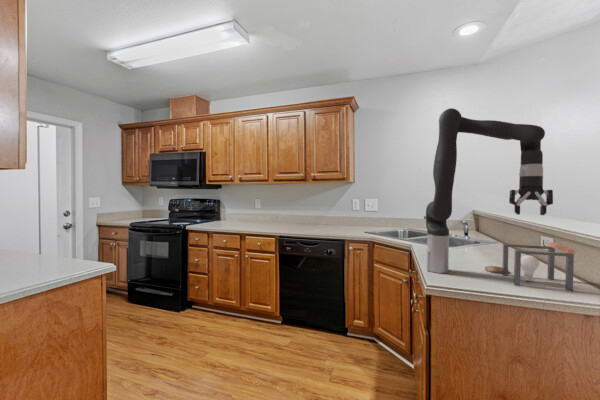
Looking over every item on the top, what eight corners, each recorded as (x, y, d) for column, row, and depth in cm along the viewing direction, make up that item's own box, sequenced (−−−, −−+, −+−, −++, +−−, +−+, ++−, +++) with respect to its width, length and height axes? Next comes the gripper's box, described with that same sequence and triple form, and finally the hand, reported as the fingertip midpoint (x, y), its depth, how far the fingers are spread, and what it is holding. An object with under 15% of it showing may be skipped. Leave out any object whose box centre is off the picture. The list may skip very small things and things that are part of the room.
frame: (515, 285, 112) (516, 250, 111) (502, 274, 127) (503, 243, 126) (572, 291, 105) (573, 254, 105) (552, 278, 120) (552, 246, 120)
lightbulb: (542, 284, 113) (542, 257, 113) (524, 283, 114) (524, 256, 114) (532, 279, 119) (533, 254, 119) (515, 278, 120) (516, 253, 120)
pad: (487, 272, 129) (487, 270, 129) (482, 267, 138) (482, 265, 137) (511, 274, 126) (511, 272, 126) (504, 269, 134) (504, 267, 134)
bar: (567, 253, 106) (567, 249, 105) (547, 245, 120) (547, 242, 120) (574, 253, 105) (574, 249, 105) (553, 246, 120) (553, 242, 120)
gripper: (513, 175, 114) (512, 215, 115) (557, 174, 109) (556, 216, 110) (507, 176, 121) (506, 213, 122) (548, 175, 116) (547, 214, 117)
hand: (530, 214), depth 116 cm, fingers open, 8 cm apart
